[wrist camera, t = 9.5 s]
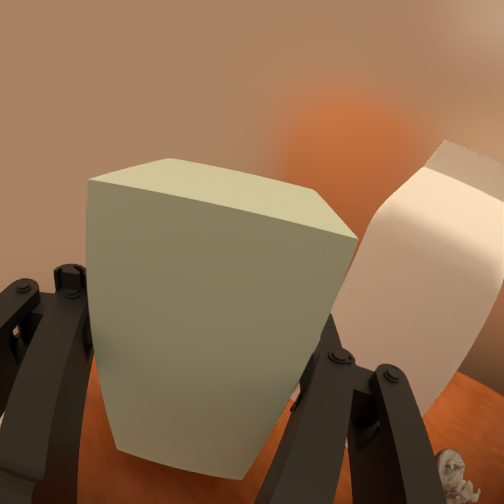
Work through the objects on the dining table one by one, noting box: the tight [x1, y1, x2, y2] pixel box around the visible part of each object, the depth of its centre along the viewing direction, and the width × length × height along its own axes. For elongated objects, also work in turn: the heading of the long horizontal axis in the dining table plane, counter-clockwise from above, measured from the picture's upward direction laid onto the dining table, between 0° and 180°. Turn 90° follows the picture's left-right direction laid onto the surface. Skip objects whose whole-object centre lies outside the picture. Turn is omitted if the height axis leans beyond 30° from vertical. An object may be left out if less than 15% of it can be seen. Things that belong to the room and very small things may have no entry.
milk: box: [290, 140, 504, 448], centre depth 21 cm, size 12×12×26 cm
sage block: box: [86, 158, 358, 480], centre depth 11 cm, size 6×6×12 cm
